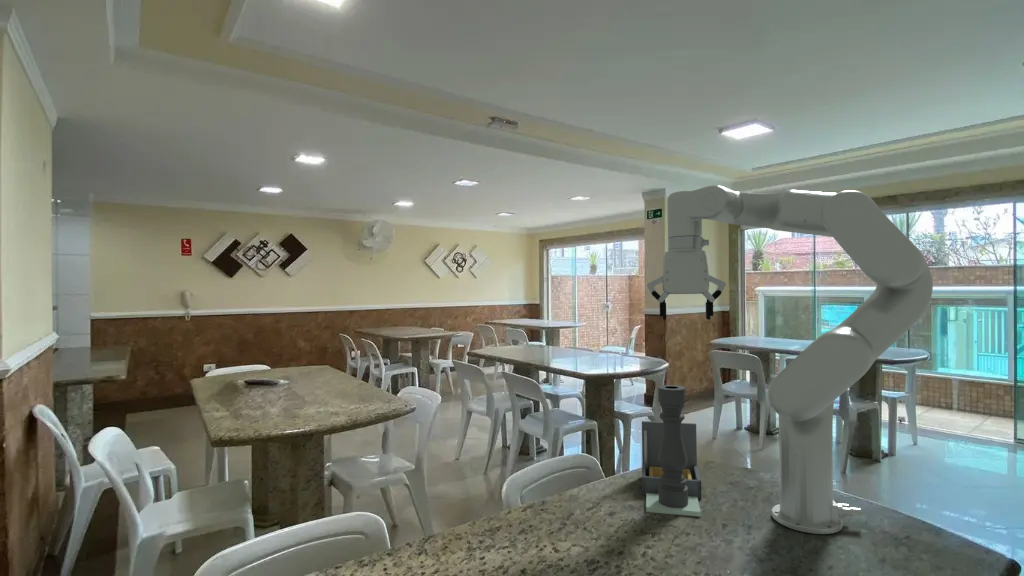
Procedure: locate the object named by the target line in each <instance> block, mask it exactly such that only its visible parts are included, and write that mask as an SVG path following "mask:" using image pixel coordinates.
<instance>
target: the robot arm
mask: <svg viewBox="0 0 1024 576" xmlns="http://www.w3.org/2000/svg"><path fill="white" fill-rule="evenodd" d="M703 220H709V221H714V222H718V223H723V224H730V225H737V226H746V227H756V228H761V229H762V228H764V229H771V230H773V231H780V232H785V233H786V232H787V233H795V234H796V233H797V234H804V235H805V234H806V235H813V236H819V237H820V236H821V237H827V238H833V239H834V240H835V241H836V243H837V244H838V245H839V247H841V248H842V249H843V251H844V252H845V253H846V254H847V255H848V256H849V257H850V258H851V260H852V261H853V262H854V263H855V264H856V265H857V266H858V268H859V269H860V270H861V271H862V273H864V274H865V276H866V277H867V278H869V280H871V281H872V282H873V283H874V284H876V287H875V289H874V291H873V293H871V295H870V296H868V298H867V299H865V300H864V301H863V302H862V303H861V304H860V305H859V306H858V307H857V308H856V309H855V310H854V311H853V312H852V313H851V314H850V315H849V316H848V317H846V319H845V320H843V321H842V322H841V323H840V324H839V325H837V326H836V327H834V328H832V329H830V330H828V331H826V332H823V334H821V335H819V336H818V337H816V338H815V340H813V341H812V342H811V343H810V344H809V345H808V346H807V347H805V349H803V351H801V352H800V353H799V354H798V355H796V357H795V358H794V359H793V360H792V361H791V362H790V363H788V365H786V366H785V367H784V368H783V369H781V371H779V372H778V374H777V375H776V376H775V377H774V378H772V380H771V382H770V384H769V387H768V390H767V397H768V403H769V404H770V406H771V408H772V410H773V411H774V412H775V413H776V414H777V415H779V417H778V419H779V421H778V422H779V424H778V459H779V460H778V461H779V462H778V464H779V465H778V467H779V468H778V469H779V503H778V504H775V505H774V506H773V507H772V508H771V517H772V518H773V519H774V520H775V521H776V522H777V523H778V524H781V525H782V526H784V527H787V528H788V529H791V530H795V531H799V532H802V533H806V534H807V533H808V534H814V535H830V534H835V533H839V532H840V531H842V529H843V528H844V522H843V519H844V518H851V519H862V517H863V513H862V510H861V508H860V507H859V508H858V507H850V505H849V503H837V502H836V501H835V499H834V468H833V467H834V465H833V463H834V462H833V457H834V455H833V453H834V452H833V449H834V448H833V445H834V443H833V442H834V439H833V438H834V437H833V423H834V407H835V406H834V405H835V401H836V400H837V399H838V398H839V397H840V396H841V395H842V394H844V393H846V391H847V390H849V389H850V388H851V387H852V386H854V384H856V383H857V382H858V381H859V380H860V379H861V378H862V377H863V376H864V375H866V373H867V372H868V371H869V370H870V369H871V367H872V365H874V362H875V361H876V360H878V358H879V357H880V356H881V355H882V354H884V352H886V351H887V350H888V349H889V348H890V347H892V346H893V345H894V344H895V343H896V342H897V341H898V340H899V339H900V338H901V337H902V336H903V335H904V334H905V333H907V332H908V331H909V330H910V329H911V328H912V327H913V326H914V325H915V324H916V323H918V321H919V319H921V318H922V316H923V315H924V314H925V312H926V310H927V308H928V307H929V305H930V302H931V299H932V294H933V287H934V286H933V284H934V282H933V277H932V272H931V269H930V266H929V265H928V262H927V260H926V258H925V256H924V254H923V252H922V251H921V250H920V249H919V248H918V246H916V245H915V244H914V243H913V241H911V240H910V239H909V238H908V237H907V236H906V235H905V234H904V232H902V231H901V230H900V229H899V228H898V227H897V226H896V224H895V223H894V222H892V220H891V219H890V218H889V217H888V216H887V215H886V214H885V213H884V212H883V211H882V209H880V207H879V206H878V204H877V203H876V202H875V201H874V200H873V199H872V197H870V195H868V194H866V193H864V192H863V191H860V190H856V189H855V190H854V189H852V190H851V189H850V190H849V189H847V190H842V191H839V192H822V191H809V190H799V189H798V190H797V189H786V190H782V191H779V192H775V193H757V192H756V193H753V192H744V191H735V190H732V189H731V188H727V187H725V186H723V185H718V184H716V185H714V184H713V185H708V186H704V187H701V188H698V189H692V190H681V191H680V190H679V191H675V192H672V193H670V194H669V195H668V197H667V248H668V249H667V251H665V252H664V255H663V264H662V276H659V277H658V278H655V279H654V280H652V281H651V282H648V283H647V285H646V287H647V288H648V290H649V292H650V294H651V296H652V297H654V298H655V299H656V300H657V301H658V302H659V316H660V317H662V320H664V321H666V320H667V302H666V299H667V298H668V297H669V295H703V297H705V298H706V301H705V319H706V320H707V321H710V320H711V317H713V316H714V302H715V301H716V300H717V299H718V298H719V297H720V296H721V295H722V293H723V291H724V290H725V287H726V285H727V284H726V282H725V281H723V280H720V279H718V278H716V277H714V276H712V275H710V271H709V264H708V257H707V252H706V250H704V249H703V248H704V247H707V246H709V245H710V240H709V239H705V238H703ZM710 283H711V284H714V285H716V286H717V288H716V290H715V291H713V293H712V294H711V293H710V291H709V290H710ZM659 284H662V293H661V295H660V293H658V291H656V288H655V287H656V286H657V285H659Z"/></svg>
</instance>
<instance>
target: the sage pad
mask: <svg viewBox="0 0 1024 576" xmlns="http://www.w3.org/2000/svg"><path fill="white" fill-rule="evenodd" d="M645 496H646V498H645V511H646V513H654V514H655V513H656V514H665V515H676V516H677V515H678V516H687V517H688V516H689V517H700V518H701V517H702V514H701V513H702V512H701V508H700V507H701V506H700V503H699V499H698V498H697V497H690V496H688V505H687V506H686V507H683V508H671V507H666V506H664V505H662V504H660V503H659V494H653V493H646V495H645Z"/></svg>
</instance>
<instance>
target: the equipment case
mask: <svg viewBox="0 0 1024 576" xmlns="http://www.w3.org/2000/svg"><path fill="white" fill-rule="evenodd" d="M681 429H682V439H683V443H684V447H685V451H686V455H687V465H686V467H685V468H684V470H683V471H684V472H683V473H682V475H683V476H684V478H685V479H686V481H687V484H686V486H687V488H688V496H690V497H697V498H698V500H702V479H701V476H700V475H701V474H700V472H699V468H698V463H697V461H698V460H697V459H698V458H697V457H698V456H697V455H698V454H697V453H698V452H697V451H698V450H697V449H698V448H697V443H698V442H697V423H695V422H694V423H691V422H690V423H689V422H681ZM662 437H663V421H653V420H651V421H649V420H647V421H646V420H642V421H641V455H642V456H641V457H642V458H641V459H642V462H641V463H642V465H641V495H645V496H646V493H653V494H659V493H658V485H659V484H660V480H659V479H660V477H661V476H662V474H663V473H664V472H663V471H662V469H663V468H662V467H661V465H660V464H659V460H658V455H659V450H660V446H661V442H662Z"/></svg>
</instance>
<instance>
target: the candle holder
mask: <svg viewBox="0 0 1024 576" xmlns="http://www.w3.org/2000/svg"><path fill="white" fill-rule="evenodd" d="M657 393H658V394H657V395H658V398H657V399H658V403H659V406H660V408H661V410H662V412H661V413H660V414H659V418H660V419H661V422H663V437H662V442H661V446H660V450H659V455H658V460H659V464H660V465H661V467H662V468H663V469H662V471H663V472H664V473H663V474H662V476H661V477H660V479H659V480H660V484H659V485H658V493H659V503H660V504H662V505H664V506H666V507H671V508H683V507H686V506H687V505H688V488H687V486H686V484H687V481H686V479H685V478H684V476H683V475H682V473H683V472H684V471H683V470H684V468H685V467H686V465H687V455H686V451H685V447H684V443H683V439H682V429H681V423H683V421H684V420H685V418H686V416H685V414H683V413H682V411H683V409H684V407H685V404H686V402H687V401H686V399H687V398H686V387H684V386H682V385H677V384H665V385H662V384H661V385H659V386H658V387H657Z"/></svg>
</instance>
